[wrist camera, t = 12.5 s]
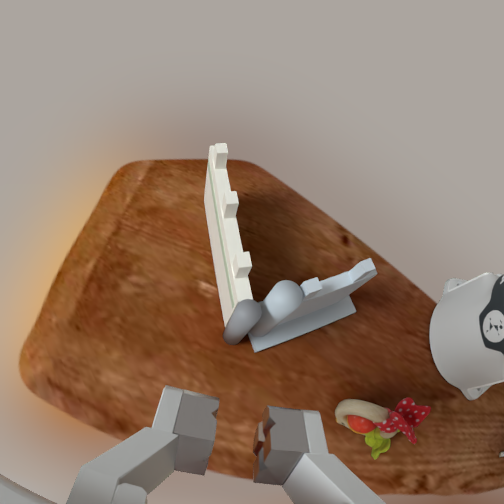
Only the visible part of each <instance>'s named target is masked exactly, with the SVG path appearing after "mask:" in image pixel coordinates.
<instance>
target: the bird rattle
mask: <svg viewBox="0 0 504 504" xmlns="http://www.w3.org/2000/svg"><path fill="white" fill-rule="evenodd" d="M430 411H431V407H430V406H418V405H416V404H415V403H414V401H413V399H412V398H405V399H403V400H401V401H400V402H399V403H398V404H397V406H396V408H395V411H392V410H390V409H389V408H383V407H381V406H378V405H376V404H373V403H370V402H367V401H363V400H357V399H346V400H343V401H341V402H340V403H339V404H338V406H337V408H336V410H335V416H336V422H337V423H339V424H342V425H344V426H346V427H347V428H349V429H351V430H352V431H353V432H355V433H358V434H362V435H365V436H366V437H365V442H366V444H367V445H369V446H371V447H372V453H371V456H372V457H373V458H374V459H376V458H378V456H379V454H380V453H381V452H386V451H387V450H388V449H389V448H390V442H391V440H390V438H391V437H393V436H394V435H395V434H396V433H397V432H399V431H402V432H403V433H404V434H405V435H406V436H407V437H408V439H409V441H410V442H412V443H413V444H415V443H416V442H417V438H416V437H415V434H414V431H413V429H412V428H413V427H418V425H419V424H420V423H421V422H422V421H423V420H424V419H425V417H426V416H427V415H428V414H429V413H430Z"/></svg>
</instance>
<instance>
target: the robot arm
mask: <svg viewBox="0 0 504 504" xmlns="http://www.w3.org/2000/svg"><path fill="white" fill-rule="evenodd" d="M430 347H431V352H432V356H433V359H434V362H435V364H436V367H437V369H438V370H439V372H440V374H441V375H442V376H443V378H444V379H445V380H446V381H447V382H449V383H450V384H452V385H453V386H455V387H457V388H459V389H460V390H461V391H462V392H463V394H464V395H465V397H466V398H467V399H468V400H474V399H477V398H478V397H479V396H480V395H482V394H483V393H484V392H485V391H486V390H487V389H488V388H489V387H491V386H492V385H493V384H497V383H501V382H504V275H502V274H496V275H494V274H493V273H488V272H487V273H484V274H481V275H479V276H477V277H475V278H473V279H471V280H469V281H468V280H462V279H456V278H451V279H448V280H447V281H446V283H445V286H444V291H443V296H442V298H441V300H440V301H439V303H438V304H437V306H436V307H435V309H434V312H433V315H432V318H431V323H430ZM218 407H219V398H217V397H213V396H208V395H204V394H200V393H196V392H192V391H188V390H182V389H178V388H175V387H171V386H167V385H166V386H165V388H164V390H163V393H162V396H161V399H160V402H159V405H158V409H157V412H156V415H155V418H154V421H153V425H152V428H149V427H145V428H143V429H142V430H140V431H139V432H137V433H136V434H134V435H132V436H131V437H129V438H128V439H126V440H124V441H123V442H121V443H120V444H118V445H116V446H115V447H113V448H112V449H110V450H108V451H107V452H105V453H103V454H102V455H100V456H98V457H97V458H95V459H93V460H92V461H90V462H88V463H86V464H85V465H83V466H82V467H81V469H80V471H79V474H78V476H77V478H76V481H75V483H74V486H73V488H72V491H71V493H70V495H69V498H68V500H67V503H66V504H147V495H148V494H149V493H150V492H152V491H153V490H154V489H155V488H156V487H157V486H158V485H160V484H161V483H162V482H163V481H164V480H165V479H166V478H167V477H169V475H171V474H172V473H173V472H174V470H176V471H181V472H187V473H192V474H198V475H205V471H206V468H207V465H208V459H209V456H210V455H211V452H212V448H213V444H214V440H215V432H216V424H217V420H216V415H217V411H218ZM262 417H263V421H262V422H261V423H259V424H258V426H257V429H256V432H255V436H254V444H253V453H254V454H255V455H256V456H257V457H256V460H255V462H254V464H253V482H254V483H263V484H272V485H283V486H282V487H283V489H284V490H285V492H286V493H287V495H288V496H289V497H290V499H291V500H292V502H293V503H294V504H386V503H385V502H384V501H383V500H381V498H379V497H378V496H377V495H376V494H375V493H374V492H373V491H372V490H371V489H370V488H368V487H367V486H366V485H365V484H364V483H363V482H362V481H361V480H360V479H359V478H358V477H357V476H356V475H355V474H354V473H352V472H351V471H350V470H349V469H348V468H347V467H346V466H345V465H344V464H343V463H342V462H341V461H340V460H339V459H338V458H337V457H336V456H335V455H334V454H329V453H328V448H327V444H326V439H325V434H324V430H323V425H322V421H321V416H320V413H319V412H318V411H311V410H300V409H291V408H282V407H274V406H266V408H265V409H264V412H263V414H262ZM0 504H57V503H54V502H52V501H50V500H48V499H46V498H44V497H41V496H40V495H37V494H35V493H33V492H32V491H30V490H28V489H26V488H24V487H22V486H20V485H18V484H17V483H15V482H13V481H11V480H10V479H8V478H6V477H4V476H3V475H1V474H0Z"/></svg>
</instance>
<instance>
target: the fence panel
mask: <svg viewBox="0 0 504 504" xmlns="http://www.w3.org/2000/svg"><path fill="white" fill-rule="evenodd" d="M227 156H228V150H227V145H226V143H221V144H215V146H210V149H209V158H208V167H207V176H206V186H205V196H204V204H205V210H206V217H207V223H208V230H209V236H210V243H211V249H212V255H213V261H214V267H215V273H216V279H217V285H218V291H219V296H220V302H221V308H222V313H223V319H224V324H225V330H224V332H223V339H224V341H225V342H226V343H227V344H230V345H236V344H238V343H239V342H240V341H241V340H242V339H243V337H244V336H245V335H246V334H247V333H248V332H249V331H250V330H251V328H252V327H253V326H254V325H255V324H256V323H257V322H258V321H259V319H260V318H261V315H262V310H261V307H260V305H259V304H258V303H257V302H256V301H254V300H253V297H252V293H251V288H250V283H249V278H248V274H249V272H250V270H251V268H252V263H251V258H250V254H249V252H243V249H242V244H241V239H240V234H239V229H238V224H237V219H236V212H237V208H238V205H239V202H238V197H237V192H236V191H232V192H231V190H230V185H229V180H228V175H227V170H226V162H227Z"/></svg>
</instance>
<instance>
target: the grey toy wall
mask: <svg viewBox="0 0 504 504" xmlns="http://www.w3.org/2000/svg"><path fill="white" fill-rule="evenodd" d="M375 269H376V268H375V266H374V264H373V262H372V260H371V258H369V259H367V260H364V261H361V262H359V263H358V264H357V265H356V266H355V267H354V268H352V269H351V270H350V271H347V272H345V273H342V274H339V275H336V276H334V277H331V278H328V279H325V280H322V281H320V282H319V280H318V278H317V277H316V278H313V279H310V280H307V281H304V282H303V283H302V284H301V285H300V286H298V285H297V284H296V283H294V282H293V281H290V280H283V281H280V282H278V283H277V284H276V285H275V286H274V287H273V289H272V290H271V291H270V293H269V294H268V295H267V297H266V298H265V299H264V301H261V302H258V304H259V305H260V307H261V310H262V315H261V318H260V319H259V321H258V322H257V323H256V324H255V325H254V326H253V327H252V328H251V330H250V331H249V332H248V336H249V339H250V341H251V344H252V346H253V349H254V352H258V351H261V350H264V349H266V348H269V347H272V346H274V345H277V344H280V343H282V342H285V341H288V340H290V339H293V338H295V337H298V336H300V335H303V334H305V333H308V332H310V331H313V330H315V329H318V328H320V327H323V326H325V325H327V324H330V323H332V322H335V321H337V320H339V319H342V318H344V317H346V316H348V315H351V314H353V313H355V312H356V309H355V307H354V305H353V303H352V300H351V298H350V296H349V294H350V293H352V292H353V291H355V290H356V289H357V288H359V287H360V286H361V285H363V284H364V283H366V282H367V281H368V280H370V279H371V278H372V277H374V276H375V275H376V274H377V272H376V270H375Z"/></svg>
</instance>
